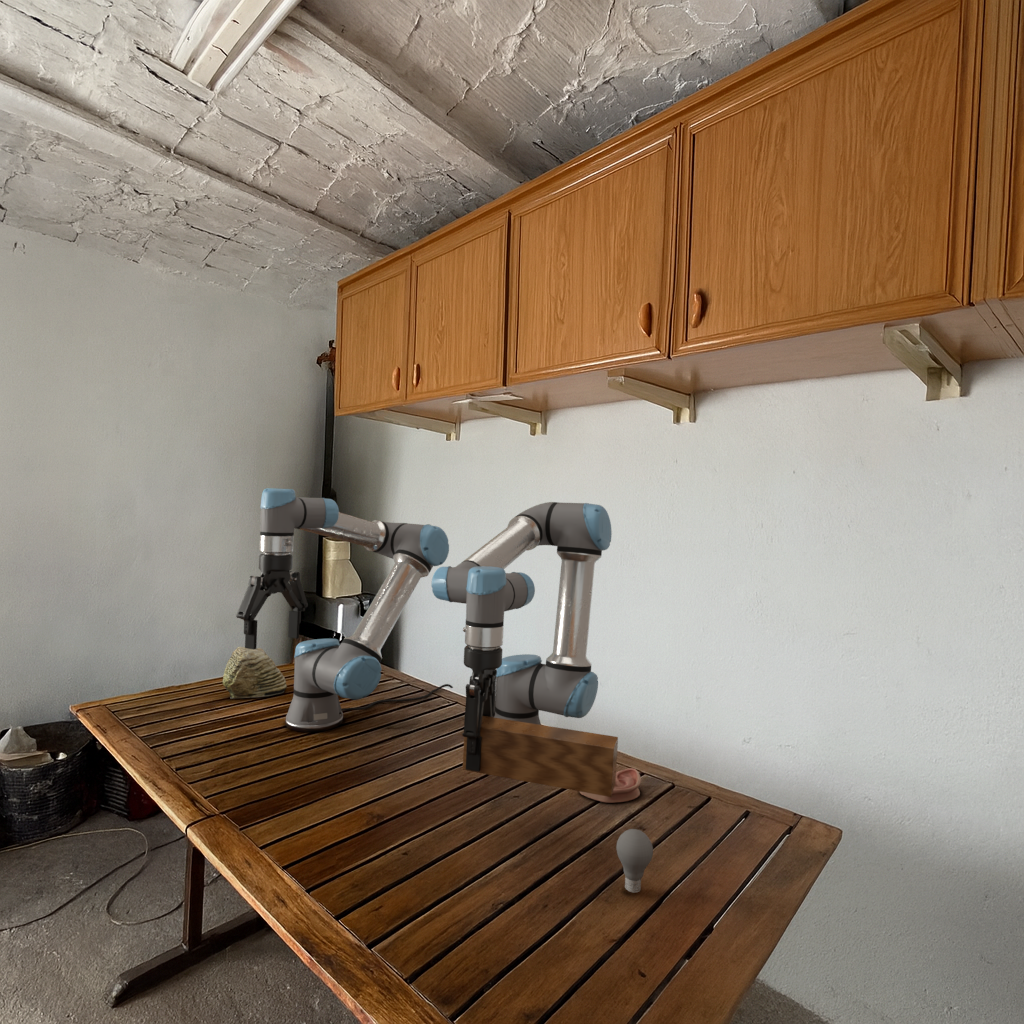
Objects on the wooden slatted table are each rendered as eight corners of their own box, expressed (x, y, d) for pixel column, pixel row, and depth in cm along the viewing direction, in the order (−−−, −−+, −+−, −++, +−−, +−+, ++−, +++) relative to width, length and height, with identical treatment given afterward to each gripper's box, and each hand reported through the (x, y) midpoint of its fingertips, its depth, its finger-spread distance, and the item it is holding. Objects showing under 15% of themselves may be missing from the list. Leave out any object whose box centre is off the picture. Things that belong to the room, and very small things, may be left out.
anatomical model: (578, 780, 137) (583, 760, 149) (577, 799, 137) (582, 776, 149) (641, 789, 135) (641, 767, 146) (640, 807, 135) (640, 784, 146)
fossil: (218, 695, 195) (220, 647, 195) (278, 685, 208) (279, 640, 207) (228, 703, 189) (230, 653, 188) (289, 692, 201) (290, 645, 201)
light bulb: (610, 879, 108) (613, 822, 108) (644, 879, 109) (647, 822, 109) (619, 902, 102) (622, 840, 102) (655, 901, 103) (658, 840, 103)
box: (615, 783, 120) (618, 736, 120) (611, 797, 114) (613, 748, 114) (473, 757, 128) (475, 714, 128) (462, 769, 122) (464, 724, 122)
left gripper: (246, 558, 137) (243, 655, 137) (324, 551, 160) (321, 635, 160) (221, 555, 140) (217, 651, 140) (301, 549, 163) (298, 631, 163)
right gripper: (479, 634, 134) (474, 742, 135) (448, 655, 116) (443, 780, 116) (513, 638, 133) (508, 747, 133) (488, 659, 114) (482, 786, 114)
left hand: (272, 643), depth 150 cm, fingers open, 13 cm apart
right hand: (478, 762), depth 125 cm, fingers closed on box, 6 cm apart
